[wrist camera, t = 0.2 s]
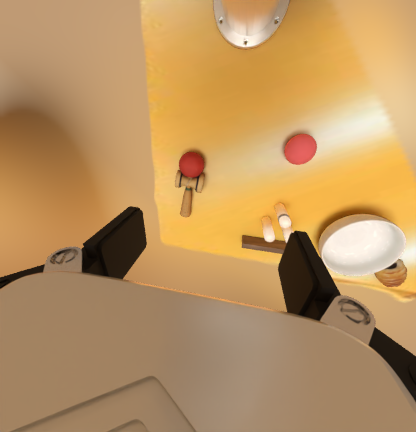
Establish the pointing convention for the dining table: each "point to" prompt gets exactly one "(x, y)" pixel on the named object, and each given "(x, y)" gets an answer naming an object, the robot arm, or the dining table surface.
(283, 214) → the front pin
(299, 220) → the dining table surface
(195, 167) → the kendama
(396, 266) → the pastry
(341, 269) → the cereal bowl
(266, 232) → the pin
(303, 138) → the ball
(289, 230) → the pin
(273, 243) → the wall
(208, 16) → the dining table surface
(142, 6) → the dining table surface
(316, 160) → the dining table surface
